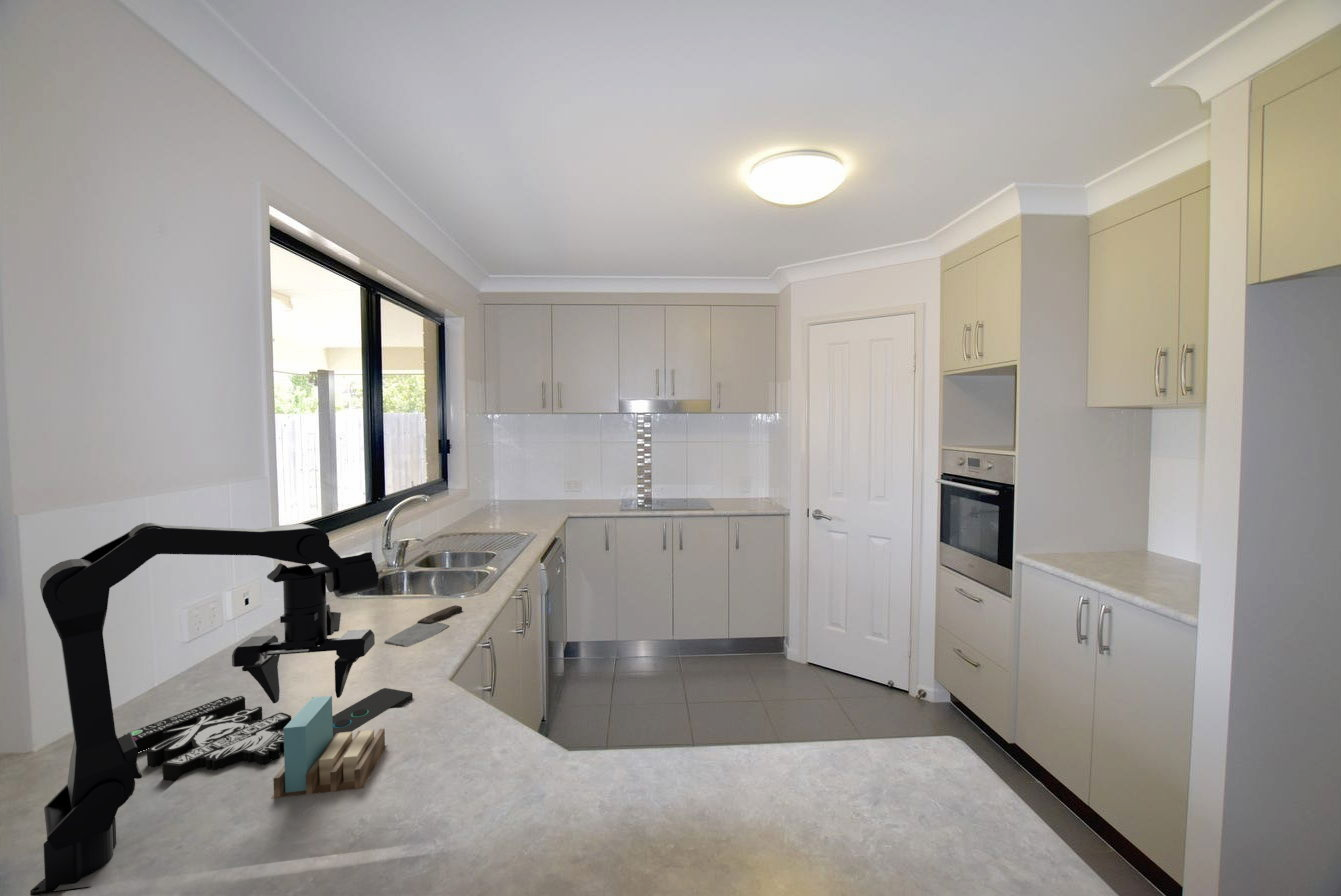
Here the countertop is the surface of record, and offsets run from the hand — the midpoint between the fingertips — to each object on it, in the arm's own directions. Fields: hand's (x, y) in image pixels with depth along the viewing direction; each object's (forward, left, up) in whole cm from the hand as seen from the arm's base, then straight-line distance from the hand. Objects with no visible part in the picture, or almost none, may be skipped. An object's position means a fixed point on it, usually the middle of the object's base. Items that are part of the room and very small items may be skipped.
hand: (307, 699), depth 91 cm
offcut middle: (0, -4, -12) cm, 13 cm away
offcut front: (0, -7, -12) cm, 14 cm away
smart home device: (+19, -1, -14) cm, 23 cm away
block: (0, 0, -12) cm, 12 cm away
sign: (+13, +20, -14) cm, 27 cm away
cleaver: (+71, -3, -14) cm, 72 cm away
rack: (0, -4, -13) cm, 13 cm away
